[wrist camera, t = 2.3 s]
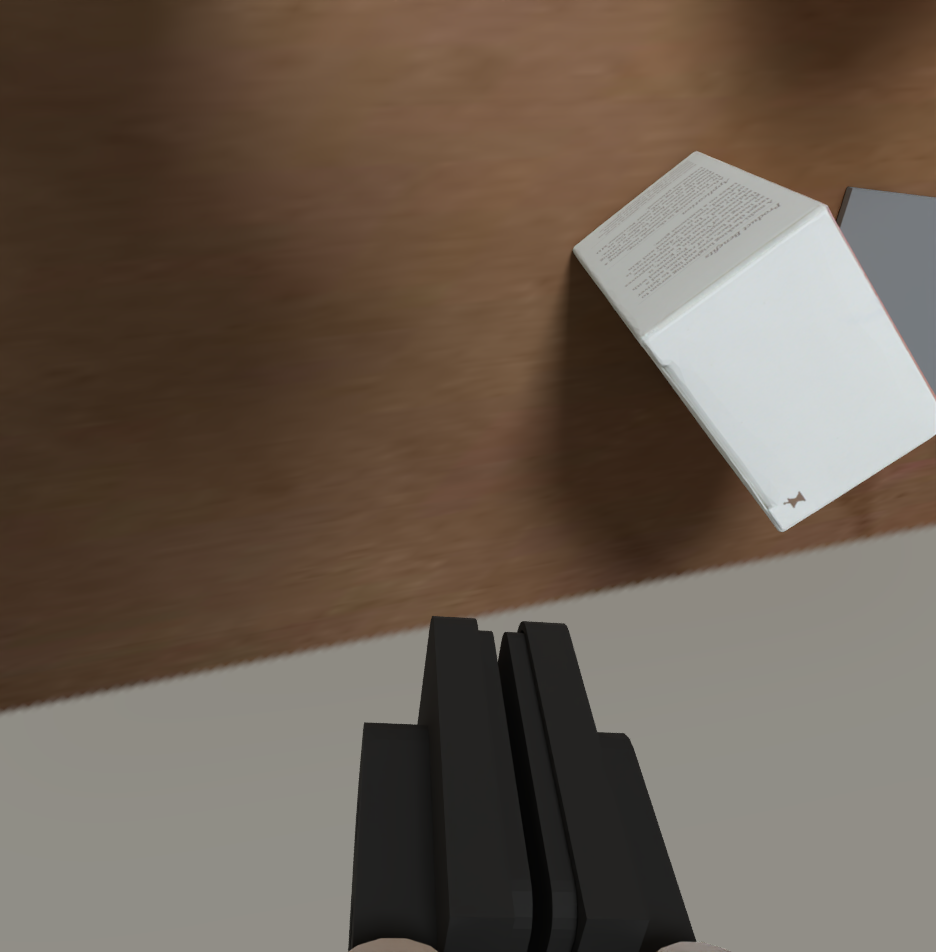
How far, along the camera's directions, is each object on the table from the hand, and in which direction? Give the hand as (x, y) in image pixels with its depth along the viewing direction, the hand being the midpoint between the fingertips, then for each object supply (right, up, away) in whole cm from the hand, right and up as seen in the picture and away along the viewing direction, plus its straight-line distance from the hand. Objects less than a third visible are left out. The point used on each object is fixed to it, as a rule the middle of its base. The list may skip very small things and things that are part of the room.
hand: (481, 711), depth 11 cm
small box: (+8, +10, +21) cm, 25 cm away
